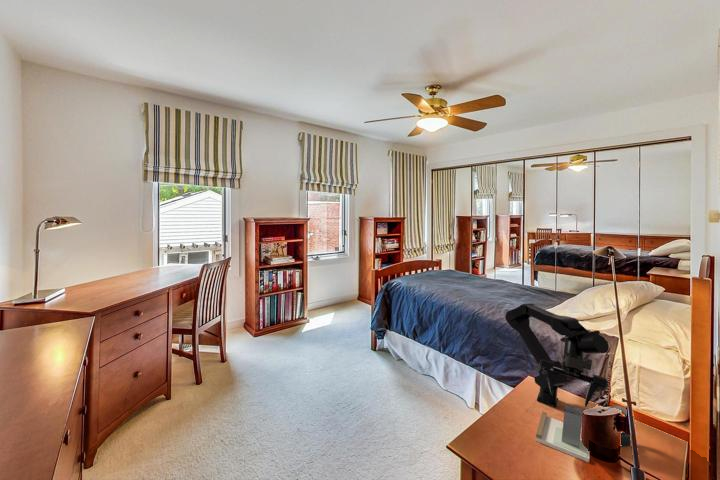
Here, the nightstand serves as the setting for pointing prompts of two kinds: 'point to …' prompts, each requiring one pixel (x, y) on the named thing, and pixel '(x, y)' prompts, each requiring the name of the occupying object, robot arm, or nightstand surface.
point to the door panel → (558, 438)
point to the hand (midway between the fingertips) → (568, 400)
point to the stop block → (572, 425)
